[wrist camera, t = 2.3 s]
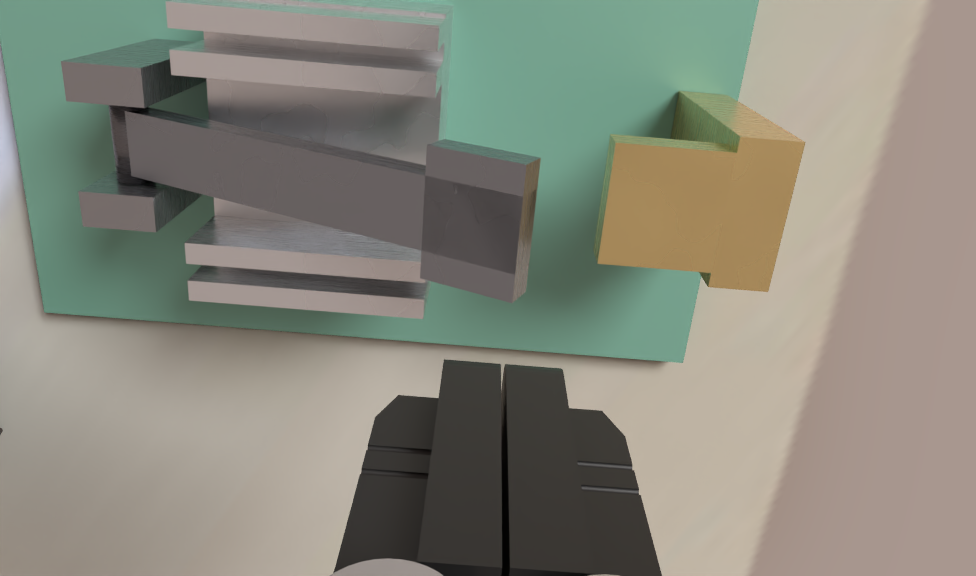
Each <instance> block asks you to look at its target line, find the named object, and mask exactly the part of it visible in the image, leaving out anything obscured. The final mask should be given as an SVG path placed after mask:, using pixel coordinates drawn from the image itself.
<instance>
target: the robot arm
mask: <svg viewBox="0 0 976 576" xmlns="http://www.w3.org/2000/svg"><path fill="white" fill-rule="evenodd" d="M330 576H662V574H661V571H660V567H659V563H658V559H657V556H656V552H655V548H654V544H653V540H652V537H651V533H650V529H649V525H648V522H647V518H646V514H645V510H644V507H643V503H642V499H641V495H639V488H638V484H637V480H636V476H635V473H634V470H632V461H631V457H630V454H629V450H628V446H627V442H626V439H625V436H624V435H623V434H622V433H621V431H620V430H619V429H618V428H617V427H616V426H615V425H614V424H613V423H612V422H611V420H610V419H609V418H608V417H607V416H606V415H605V414H604V413H603V412H602V411H597V410H584V409H571V408H569V406H568V399H567V393H566V387H565V380H564V374H563V370H562V369H559V368H546V367H533V366H521V365H508V364H505V367H504V373H503V381H502V390H501V365H500V364H493V363H481V362H468V361H455V360H444V363H443V370H442V378H441V385H440V393H439V398H428V397H415V396H402V395H398V396H397V397H396V398H395V399H394V400H393V401H392V402H391V403H390V404H389V405H388V406H387V407H386V408H384V409H383V410H382V411H381V412H380V413H379V414H378V415H377V416H376V417H375V420H374V424H373V428H372V432H371V435H370V439H369V443H368V450H366V454H365V458H364V462H363V465H362V472H361V474H360V477H359V480H358V484H357V488H356V492H355V495H354V499H353V503H352V507H351V511H350V514H349V518H348V522H347V526H346V529H345V533H344V537H343V541H342V544H341V548H340V552H339V556H338V559H337V563H336V567H335V570H334V572H333V574H332V575H330Z"/></svg>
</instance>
